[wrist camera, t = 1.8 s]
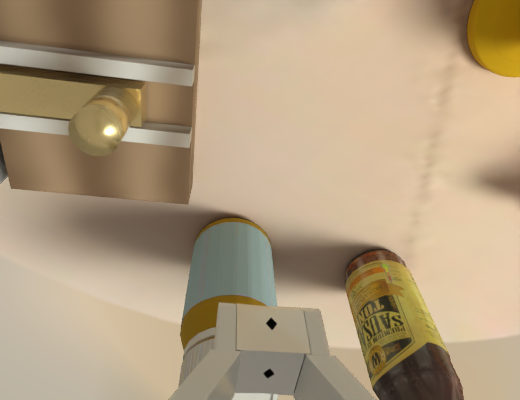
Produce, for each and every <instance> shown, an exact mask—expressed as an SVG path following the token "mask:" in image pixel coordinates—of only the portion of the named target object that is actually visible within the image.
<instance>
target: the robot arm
mask: <svg viewBox="0 0 520 400" xmlns="http://www.w3.org/2000/svg"><path fill="white" fill-rule="evenodd" d="M235 393H265V394H281V395H294V398H295V400H376V399H375V398H374V397H373V396H372V395H371V393H370V392H369V391H368V390H367V389H366V388H365V387H364V386H363V385H362V384H361V383H360V382H359V381H358V380H357V378H355V377H354V375H353V374H352V373H351V372H350V371H349V370H348V369H347V368H346V367H345V366H344V364H343V363H342V362H341V361H340V360H339V359H338V358H337V357H336V356H331V355H330V351H329V346H328V342H327V337H326V333H325V329H324V324H323V320H322V315H321V311H320V310H319V309H312V308H295V307H276V306H258V305H247V304H232V303H220V302H219V304H218V312H217V321H216V330H215V340H214V350H211V349H210V350H209V352H208V353H207V354H206V355H205V356H204V358H203V359H202V360H201V361H200V362H199V364H198V365H197V366H196V367H195V368H194V370H193V371H192V372H191V373H190V374H189V376H188V377H187V378H186V379H185V380H184V382H183V383H182V384H181V385H180V386H179V388H178V389H177V390H176V391H175V392H174V394H173V395H172V396H171V397H170V398H169V400H232V398H233V397H234V395H235Z"/></svg>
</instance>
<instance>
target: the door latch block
mask: <svg viewBox="0 0 520 400" xmlns="http://www.w3.org/2000/svg"><path fill="white" fill-rule="evenodd" d="M201 5H202V0H0V65H5V66H14V67H22V68H30V69H39V70H47V71H55V72H64V73H72V74H80V75H89V76H97V77H105V78H114V79H122V80H130V81H139V82H146V115H147V118H146V120H145V122H144V123H143V125H142V127H137V126H130V127H129V129H128V130H127V132H126V134H125V135H124V137H123V138H122V140H121V142H120V143H119V145H118V146H117V148H116V149H115V150H114V151H113V152H112V153H110V154H108V155H106V156H92V155H89V154H86V153H84V152H82V151H81V150H80V149H78V148H77V147H76V146H75V145H74V143H73V142H72V140H71V139H70V136H69V132H68V125H69V122H70V120H71V119H63V118H54V117H45V116H36V115H26V114H17V113H8V112H0V184H1V183H2V182H3V181H4V180H5V179H6V178H7V177H9V182H10V186H11V189H22V190H33V191H44V192H55V193H66V194H78V195H89V196H100V197H111V198H122V199H133V200H144V201H155V202H166V203H177V204H188V203H189V198H190V193H191V189H192V180H193V161H194V141H195V122H196V102H197V83H198V64H199V44H200V25H201Z"/></svg>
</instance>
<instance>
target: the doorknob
mask: <svg viewBox="0 0 520 400" xmlns="http://www.w3.org/2000/svg"><path fill="white" fill-rule="evenodd" d="M467 39H468V44H469V48H470V51H471V53H472V55H473V57H474V58H475V59H476V61H477V62H478V63H479V64H480V65H481V66H483V67H484V68H485V69H487V70H489V71H491V72H493V73H496V74H498V75H501V76H506V77H520V0H474V2H473V5H472V8H471V10H470V14H469V18H468V24H467Z"/></svg>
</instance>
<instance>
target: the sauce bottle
mask: <svg viewBox="0 0 520 400" xmlns="http://www.w3.org/2000/svg"><path fill="white" fill-rule="evenodd" d="M345 285H346V293H347V297H348V300H349V304H350V308H351V312H352V315H353V319H354V322H355V326H356V329H357V334H358V337H359V341H360V345H361V348H362V352H363V356H364V359H365V363H366V365H367V370H368V373H369V377H370V381H371V384H372V388H373V390H374V392H375V393H376V395H377V397H378V398H379V400H464V396H463V390H462V385H461V383H460V379H459V378H458V376H457V374H456V372H455V369H454V368H453V365H452V363H451V361H450V356H449V353H448V351H447V349H446V347H445V345H444V343H443V341H442V338H441V336H440V334H439V332H438V330H437V328H436V326H435V324H434V322H433V319H432V317H431V315H430V313H429V311H428V309H427V307H426V305H425V302H424V300H423V298H422V296H421V294H420V292H419V290H418V287H417V285H416V283H415V281H414V279H413V277H412V275H411V273H410V271H409V270H408V269H407V267H406V265H405V263H404V261H403V260H402V259H401V258H400V257H399V256H397V255H396V254H395V253H392V252H389V251H384V250H376V251H371V252H367V253H365V254H363V255H360V256H359V257H357V258H356V259H355V260H353V261H352V263H350V264H349V266H348V268H347V271H346V275H345Z"/></svg>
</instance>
